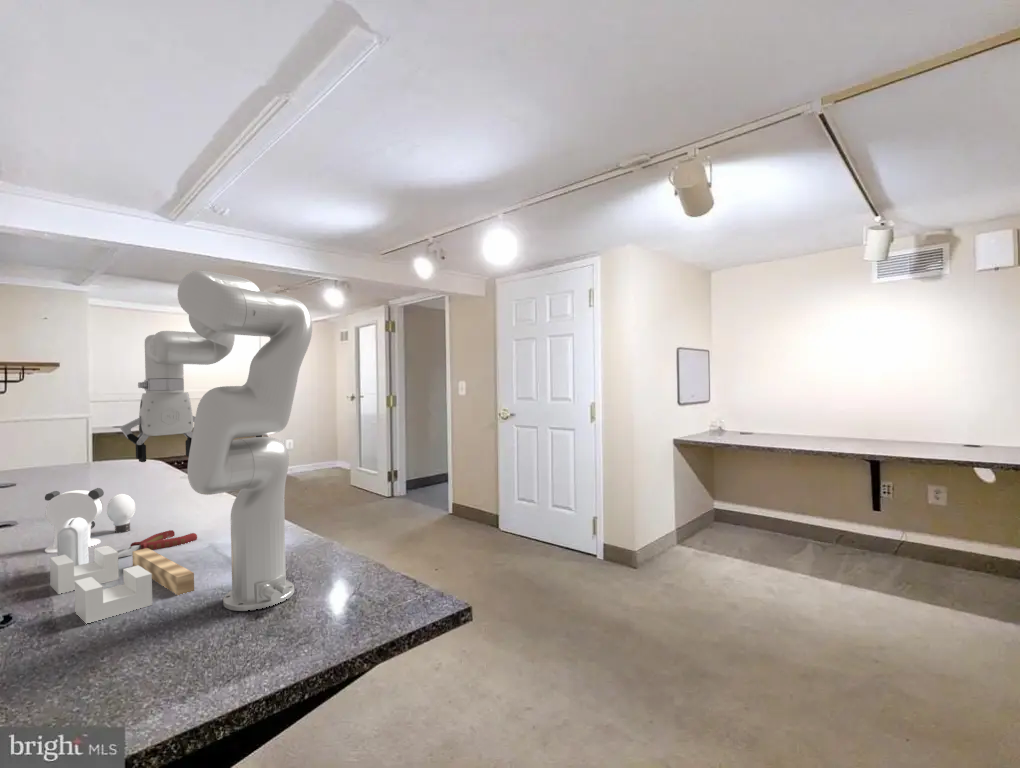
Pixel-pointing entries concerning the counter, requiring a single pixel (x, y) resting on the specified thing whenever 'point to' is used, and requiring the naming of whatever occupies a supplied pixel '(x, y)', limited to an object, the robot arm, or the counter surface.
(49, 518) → the panda figurine
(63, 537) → the photo printer
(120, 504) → the light bulb
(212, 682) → the counter surface
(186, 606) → the counter surface
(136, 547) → the pliers
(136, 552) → the slat
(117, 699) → the counter surface
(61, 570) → the end caps
